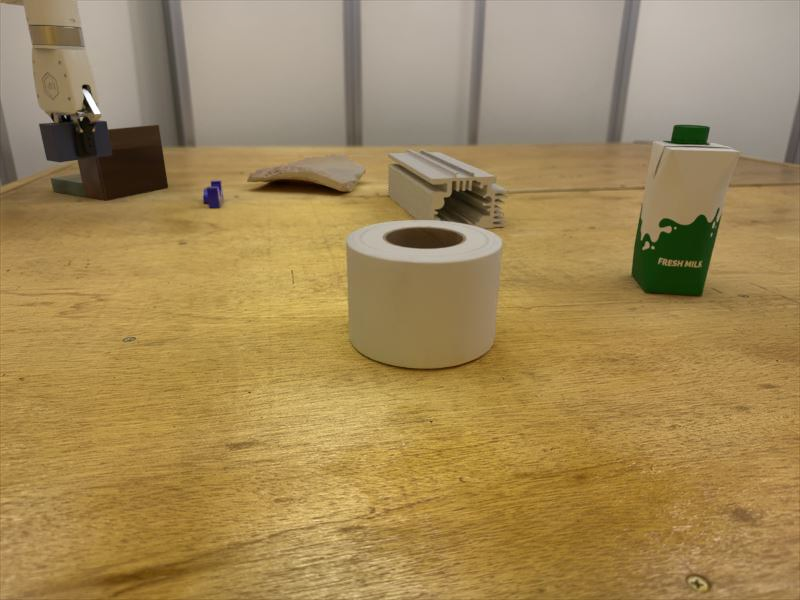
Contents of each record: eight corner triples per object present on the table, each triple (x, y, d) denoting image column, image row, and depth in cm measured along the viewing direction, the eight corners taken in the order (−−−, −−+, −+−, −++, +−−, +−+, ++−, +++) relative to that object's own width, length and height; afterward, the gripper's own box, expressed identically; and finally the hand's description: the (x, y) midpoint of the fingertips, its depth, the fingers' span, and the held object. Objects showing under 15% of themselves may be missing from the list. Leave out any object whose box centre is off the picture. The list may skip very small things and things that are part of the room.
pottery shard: (281, 178, 144) (243, 185, 125) (282, 149, 142) (243, 152, 123) (370, 187, 139) (344, 196, 120) (372, 157, 137) (346, 161, 118)
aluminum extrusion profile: (448, 192, 126) (450, 147, 122) (505, 227, 99) (510, 171, 95) (388, 195, 123) (388, 149, 119) (430, 232, 96) (432, 173, 92)
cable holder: (206, 199, 117) (204, 180, 115) (223, 199, 118) (221, 180, 116) (201, 208, 110) (198, 188, 108) (219, 207, 110) (217, 187, 109)
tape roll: (349, 306, 65) (347, 217, 61) (478, 304, 66) (484, 216, 62) (347, 372, 51) (343, 262, 47) (510, 368, 52) (522, 260, 48)
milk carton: (687, 275, 77) (722, 125, 69) (712, 299, 68) (755, 132, 61) (622, 271, 78) (649, 123, 70) (639, 295, 69) (671, 130, 62)
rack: (53, 191, 123) (38, 126, 117) (116, 180, 136) (105, 120, 130) (106, 200, 115) (92, 131, 110) (168, 187, 128) (158, 124, 123)
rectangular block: (46, 160, 93) (38, 123, 91) (100, 153, 102) (94, 119, 99) (59, 162, 92) (51, 125, 90) (112, 155, 100) (106, 121, 98)
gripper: (3, 38, 90) (29, 153, 97) (68, 38, 83) (91, 162, 90) (49, 40, 96) (70, 148, 103) (112, 41, 89) (130, 157, 96)
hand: (79, 153), depth 97 cm, fingers closed on rectangular block, 3 cm apart
